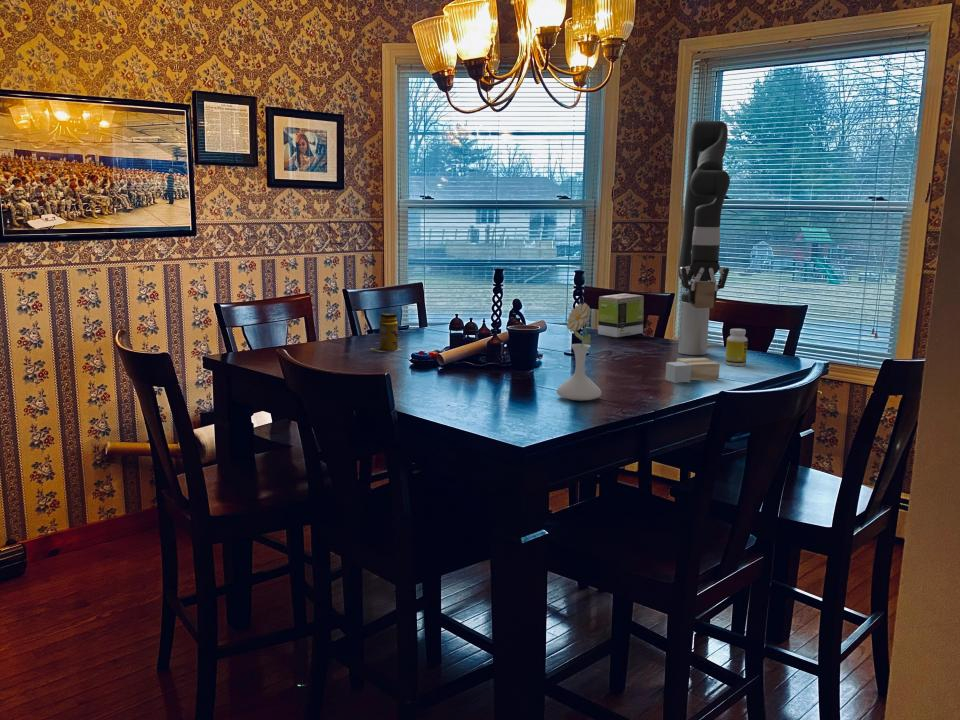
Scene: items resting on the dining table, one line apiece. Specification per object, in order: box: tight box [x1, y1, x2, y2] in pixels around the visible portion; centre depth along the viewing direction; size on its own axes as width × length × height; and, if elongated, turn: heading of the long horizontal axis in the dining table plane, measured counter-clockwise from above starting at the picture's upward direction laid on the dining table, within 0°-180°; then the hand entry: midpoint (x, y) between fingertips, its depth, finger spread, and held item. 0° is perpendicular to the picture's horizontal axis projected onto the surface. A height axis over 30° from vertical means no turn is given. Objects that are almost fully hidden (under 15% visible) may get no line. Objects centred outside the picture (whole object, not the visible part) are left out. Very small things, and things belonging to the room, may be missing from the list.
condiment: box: [369, 312, 403, 353], centre depth 278 cm, size 7×8×12 cm
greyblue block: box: [664, 361, 691, 384], centre depth 236 cm, size 5×5×5 cm
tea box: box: [597, 293, 645, 338], centre depth 316 cm, size 15×10×15 cm, turn 130°
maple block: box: [675, 357, 720, 381], centre depth 241 cm, size 9×9×5 cm
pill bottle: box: [724, 328, 749, 367], centre depth 260 cm, size 6×6×11 cm
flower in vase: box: [556, 302, 603, 402], centre depth 211 cm, size 13×11×25 cm
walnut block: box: [691, 281, 715, 309], centre depth 237 cm, size 5×5×7 cm
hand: (702, 303), depth 238 cm, fingers closed on walnut block, 5 cm apart
